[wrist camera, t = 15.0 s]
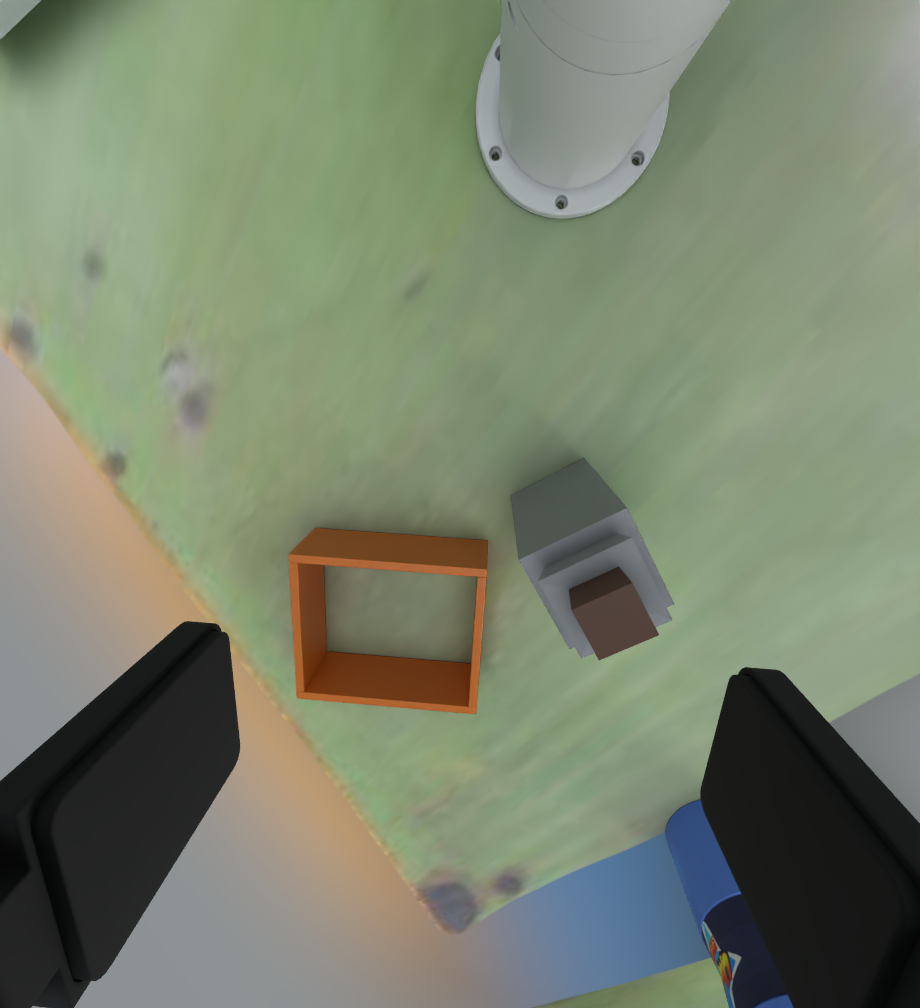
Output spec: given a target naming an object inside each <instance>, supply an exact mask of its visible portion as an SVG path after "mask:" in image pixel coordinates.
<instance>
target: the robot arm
mask: <svg viewBox="0 0 920 1008" xmlns="http://www.w3.org/2000/svg"><path fill="white" fill-rule="evenodd" d="M730 2H731V0H501V33H500V34H499V36H498V37H497V38H496V40H495V41H494V43H493V45H492V47H491V49H490V51H489V54H488V56H487V58H486V60H485V62H484V65H483V69H482V72H481V76H480V79H479V82H478V89H477V97H476V129H477V137H478V143H479V146H480V150H481V154H482V157H483V160H484V162H485V165H486V167H487V169H488V171H489V173H490V175H491V177H492V178H493V180H494V181H495V182H496V184H497V185H498V186H499V188H500V189H501V191H502V192H503V193H504V194H505V195H507V196H508V197H509V198H510V199H511V200H512V201H513V202H514V203H515V204H517V205H519V206H521V207H522V208H524V209H526V210H527V211H529V212H531V213H534V214H538V215H541V216H544V217H549V218H559V219H566V218H575V217H581V216H584V215H587V214H590V213H593V212H596V211H598V210H600V209H602V208H604V207H605V206H607V205H609V204H611V203H612V202H614V201H615V200H616V199H617V198H619V197H620V196H621V195H622V194H623V193H625V192H626V191H627V190H628V189H629V188H630V187H631V186H632V184H633V183H634V182H635V181H636V180H637V179H638V178H639V176H640V175H641V174H642V172H643V171H644V170H645V168H646V167H647V166H648V164H649V163H650V161H651V159H652V157H653V155H654V153H655V151H656V149H657V147H658V145H659V143H660V140H661V137H662V133H663V130H664V127H665V124H666V120H667V113H668V107H669V100H670V93H669V92H670V90H671V89H672V87H673V86H674V84H675V83H676V81H677V80H678V79H679V77H680V76H681V74H682V73H683V71H684V70H685V68H686V67H687V65H688V64H689V63H690V61H691V60H692V58H693V57H694V55H695V54H696V52H697V51H698V49H699V48H700V46H701V45H702V44H703V42H704V41H705V39H706V38H707V36H708V35H709V33H710V32H711V30H712V29H713V27H714V26H715V24H716V23H717V21H718V20H719V18H720V17H721V15H722V14H723V12H724V11H725V9H726V8H727V6H728V5H729V3H730ZM499 58H500V61H498V59H499ZM495 154H497V155H498V156H499V159H498V160H497V161H494V160H493V159H492V156H493V155H495ZM634 159H635V160H637V161H638V165H637V166H635V165H633V163H632V160H634ZM558 202H561V203H563V206H564V207H563V208H562V209H559V208H558V207H557V203H558ZM237 720H238V719H237V710H236V700H235V690H234V681H233V671H232V662H231V652H230V642H229V637H228V635H227V633H225V632H221V628H220V627H219V625H217V624H214V623H202V622H189V621H187V622H184V623H182V624H180V625H179V626H178V627H177V628H175V629H174V630H173V631H172V632H171V633H170V634H169V635H167V636H166V637H165V638H164V639H163V640H162V641H160V643H158V644H157V645H156V646H155V647H154V648H153V649H152V650H150V651H149V652H148V653H147V654H146V655H145V656H143V657H142V658H141V659H140V660H139V661H138V662H136V663H135V664H134V665H133V666H132V667H131V668H130V669H128V670H127V671H126V672H125V673H124V674H123V675H121V676H120V677H119V678H118V679H117V680H116V681H115V682H113V683H112V684H111V685H110V686H109V687H108V688H107V689H106V690H104V691H103V692H102V693H101V694H100V695H99V696H97V697H96V698H95V699H94V700H93V701H92V702H91V703H89V704H88V705H87V706H86V707H85V708H84V709H82V710H81V711H80V712H79V713H78V714H77V715H76V716H75V717H73V718H72V719H71V720H70V721H69V722H68V723H66V724H65V725H64V726H63V727H62V728H61V729H60V730H58V731H57V732H56V733H55V734H54V735H53V736H52V737H50V738H49V739H48V740H47V741H46V742H45V743H43V744H42V745H41V746H40V747H39V748H38V749H37V750H35V751H34V752H33V753H32V754H31V755H30V756H29V757H27V758H26V759H25V760H24V761H23V762H22V763H20V764H19V765H18V766H17V767H16V768H15V769H14V770H13V771H11V772H10V773H9V774H8V775H7V776H6V777H4V778H3V779H2V780H1V781H0V1008H31V1007H32V1006H38V1007H47V1008H74V1007H75V1005H76V1004H77V1002H78V1000H79V999H80V997H81V996H82V994H83V993H84V991H85V990H86V988H87V986H88V985H89V983H90V982H91V981H96V980H98V979H100V978H101V977H102V976H103V975H104V974H105V973H106V972H107V970H108V969H109V968H110V966H111V965H112V963H113V962H114V960H115V958H116V956H117V955H118V953H119V952H120V950H121V949H122V947H123V945H124V944H125V942H126V941H127V938H128V937H129V936H130V934H131V933H132V931H133V929H134V928H135V926H136V924H137V923H138V921H139V920H140V918H141V917H142V915H143V913H144V912H145V910H146V908H147V907H148V905H149V903H150V902H151V900H152V899H153V897H154V896H155V894H156V892H157V891H158V889H159V888H160V886H161V884H162V883H163V881H164V880H165V878H166V876H167V875H168V873H169V871H170V870H171V868H172V867H173V865H174V863H175V862H176V860H177V859H178V857H179V855H180V854H181V852H182V851H183V849H184V847H185V846H186V844H187V843H188V841H189V839H190V838H191V836H192V834H193V833H194V831H195V830H196V828H197V826H198V825H199V823H200V822H201V820H202V818H203V817H204V815H205V814H206V812H207V810H208V809H209V807H210V806H211V804H212V802H213V801H214V799H215V797H216V796H217V794H218V792H219V791H220V790H221V788H222V786H223V784H224V783H225V781H226V780H227V778H228V777H229V775H230V773H231V772H232V770H233V769H234V767H235V765H236V762H237V760H238V756H239V752H240V739H239V730H238V721H237ZM701 804H702V808H703V811H704V814H705V816H706V818H707V820H708V822H709V825H710V827H711V829H712V831H713V833H714V835H715V838H716V840H717V842H718V844H719V846H720V849H721V851H722V853H723V855H724V857H725V859H726V862H727V864H728V866H729V868H730V870H731V873H732V875H733V877H734V879H735V881H736V883H737V886H738V888H739V890H740V892H741V894H742V897H743V899H744V901H745V903H746V905H747V907H748V910H749V912H750V914H751V916H752V918H753V921H754V923H755V925H756V927H757V929H758V931H759V934H760V936H761V938H762V940H763V942H764V944H765V947H766V949H767V951H768V953H769V955H770V958H771V960H772V962H773V964H774V966H775V968H776V971H777V973H778V975H779V977H780V979H781V982H782V984H783V986H784V988H785V990H786V992H787V995H788V997H789V999H790V1001H791V1003H792V1006H793V1008H920V823H919V822H918V821H917V820H916V819H915V818H914V817H913V816H912V815H911V813H910V812H909V811H908V810H907V809H906V808H905V807H904V806H903V804H901V802H900V801H899V800H898V799H897V798H896V797H895V796H894V795H893V793H892V792H891V791H890V790H889V789H888V788H887V787H886V786H885V785H884V784H883V782H882V781H881V780H880V779H879V778H878V777H877V776H876V775H875V774H874V772H873V771H872V770H871V769H870V768H869V767H868V766H867V765H866V764H865V763H864V762H863V760H862V759H861V758H860V757H859V756H858V755H857V754H856V753H855V751H854V750H853V749H852V748H851V747H850V746H849V745H848V744H847V743H846V742H845V740H844V739H843V738H842V737H841V736H840V735H839V734H838V733H837V732H836V730H835V729H834V728H833V727H832V726H831V725H830V724H829V723H828V722H827V721H826V719H825V718H824V717H823V716H822V715H821V714H820V713H819V712H818V711H817V710H816V708H815V707H814V706H813V705H812V704H811V703H810V702H809V701H808V700H807V698H806V697H805V696H804V695H803V694H802V693H801V692H800V691H799V690H798V689H797V687H796V686H795V685H794V684H793V683H792V682H791V681H790V680H789V679H788V677H787V676H786V675H785V674H783V673H782V672H781V671H778V670H772V669H760V668H748V667H745V668H742V669H741V670H740V672H739V674H738V675H732V676H731V677H730V679H729V682H728V686H727V689H726V693H725V697H724V701H723V705H722V709H721V713H720V716H719V720H718V724H717V728H716V732H715V736H714V740H713V743H712V747H711V751H710V755H709V759H708V763H707V767H706V770H705V774H704V778H703V782H702V786H701Z"/></svg>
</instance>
